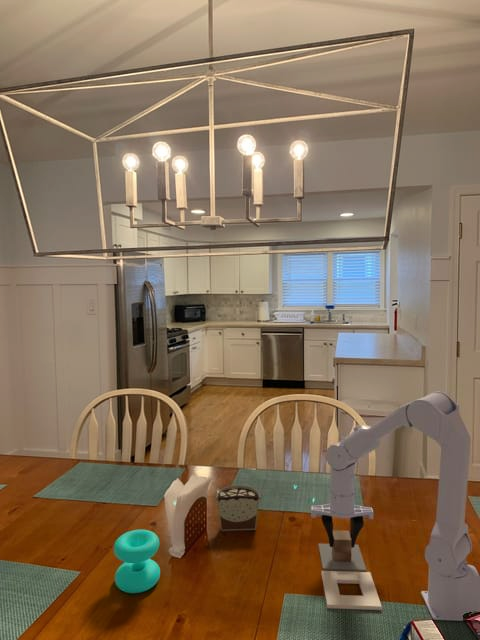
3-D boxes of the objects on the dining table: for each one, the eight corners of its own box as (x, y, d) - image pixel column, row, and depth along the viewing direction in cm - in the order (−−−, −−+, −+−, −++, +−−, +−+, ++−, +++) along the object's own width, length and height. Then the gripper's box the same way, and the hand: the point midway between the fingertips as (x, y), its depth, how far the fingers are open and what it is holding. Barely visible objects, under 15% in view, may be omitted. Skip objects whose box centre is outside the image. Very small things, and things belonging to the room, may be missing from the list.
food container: (259, 517, 132) (259, 483, 131) (261, 529, 126) (261, 494, 125) (216, 518, 132) (215, 484, 131) (215, 530, 125) (215, 495, 124)
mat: (358, 546, 118) (358, 544, 118) (366, 571, 108) (366, 569, 108) (318, 544, 118) (318, 543, 118) (322, 569, 108) (322, 568, 108)
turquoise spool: (132, 558, 97) (104, 541, 103) (134, 603, 98) (105, 583, 104) (168, 537, 105) (140, 522, 111) (169, 578, 106) (141, 561, 112)
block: (348, 552, 115) (348, 530, 114) (351, 561, 111) (351, 539, 110) (331, 551, 115) (332, 530, 114) (334, 561, 111) (334, 539, 110)
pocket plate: (370, 575, 106) (370, 572, 106) (381, 610, 95) (381, 606, 95) (321, 573, 107) (321, 570, 107) (327, 608, 96) (327, 604, 96)
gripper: (369, 484, 115) (368, 536, 116) (310, 483, 116) (309, 534, 117) (375, 497, 108) (374, 553, 109) (312, 496, 109) (312, 551, 110)
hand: (341, 545), depth 113 cm, fingers open, 4 cm apart
